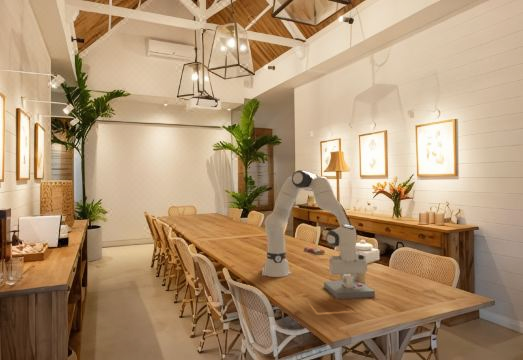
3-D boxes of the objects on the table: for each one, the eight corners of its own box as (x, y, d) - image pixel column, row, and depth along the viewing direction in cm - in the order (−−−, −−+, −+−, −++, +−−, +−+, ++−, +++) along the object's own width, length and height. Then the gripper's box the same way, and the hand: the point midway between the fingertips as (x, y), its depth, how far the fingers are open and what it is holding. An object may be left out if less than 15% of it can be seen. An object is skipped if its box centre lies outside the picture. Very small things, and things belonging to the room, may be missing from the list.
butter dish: (366, 265, 244) (366, 242, 244) (344, 261, 257) (344, 239, 258) (379, 261, 256) (379, 239, 256) (358, 257, 269) (358, 236, 269)
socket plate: (324, 287, 193) (324, 280, 194) (358, 285, 197) (358, 278, 197) (337, 299, 174) (337, 291, 174) (374, 296, 177) (374, 289, 177)
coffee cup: (367, 280, 206) (367, 260, 206) (363, 284, 197) (363, 263, 198) (352, 278, 210) (352, 258, 210) (347, 282, 202) (347, 261, 202)
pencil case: (314, 257, 270) (314, 251, 270) (302, 252, 288) (302, 246, 288) (326, 256, 274) (326, 250, 274) (313, 251, 292) (313, 245, 292)
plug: (341, 288, 189) (341, 273, 189) (347, 287, 190) (347, 273, 190) (346, 292, 183) (346, 277, 183) (353, 291, 183) (353, 276, 183)
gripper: (331, 257, 181) (331, 284, 180) (368, 256, 184) (368, 282, 184) (327, 255, 187) (327, 280, 187) (363, 253, 190) (363, 279, 190)
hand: (348, 281), depth 185 cm, fingers open, 4 cm apart
